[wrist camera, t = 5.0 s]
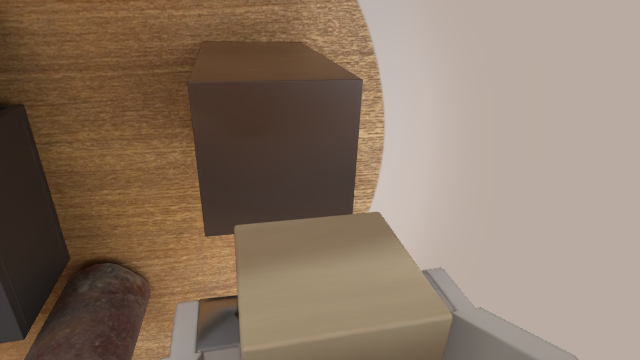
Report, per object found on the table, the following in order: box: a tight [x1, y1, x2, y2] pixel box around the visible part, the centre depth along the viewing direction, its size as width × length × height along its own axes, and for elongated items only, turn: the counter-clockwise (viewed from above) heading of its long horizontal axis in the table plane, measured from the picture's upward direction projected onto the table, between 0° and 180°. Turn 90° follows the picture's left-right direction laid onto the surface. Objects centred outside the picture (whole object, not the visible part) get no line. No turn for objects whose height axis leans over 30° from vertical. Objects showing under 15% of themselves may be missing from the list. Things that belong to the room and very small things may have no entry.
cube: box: [234, 212, 453, 360], centre depth 10 cm, size 4×4×4 cm
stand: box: [188, 41, 363, 237], centre depth 26 cm, size 8×8×16 cm
